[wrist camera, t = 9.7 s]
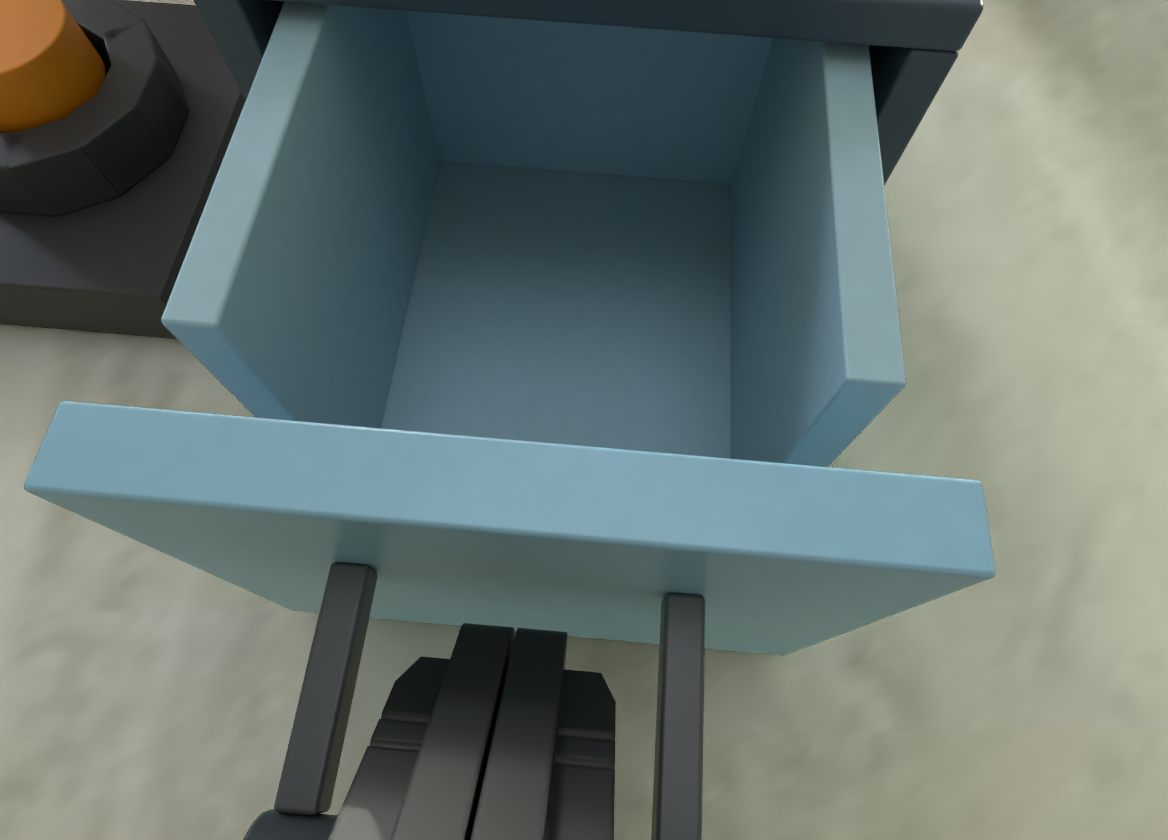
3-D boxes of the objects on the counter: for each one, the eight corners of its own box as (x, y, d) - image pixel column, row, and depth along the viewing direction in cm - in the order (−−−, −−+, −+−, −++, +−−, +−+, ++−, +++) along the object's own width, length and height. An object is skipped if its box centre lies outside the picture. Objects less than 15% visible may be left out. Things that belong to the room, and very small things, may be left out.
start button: (-58, 129, 19) (-118, 72, 17) (0, 35, 20) (-50, -26, 18) (77, 140, 18) (30, 83, 17) (125, 44, 20) (86, -16, 18)
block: (-107, 315, 20) (-255, 223, 17) (45, 49, 25) (-46, -69, 21) (201, 341, 20) (119, 254, 17) (298, 69, 25) (250, -47, 21)
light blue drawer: (792, 901, 14) (1082, 1119, 6) (231, 845, 14) (-196, 984, 6) (772, 194, 22) (892, -128, 14) (402, 165, 22) (304, -168, 14)
